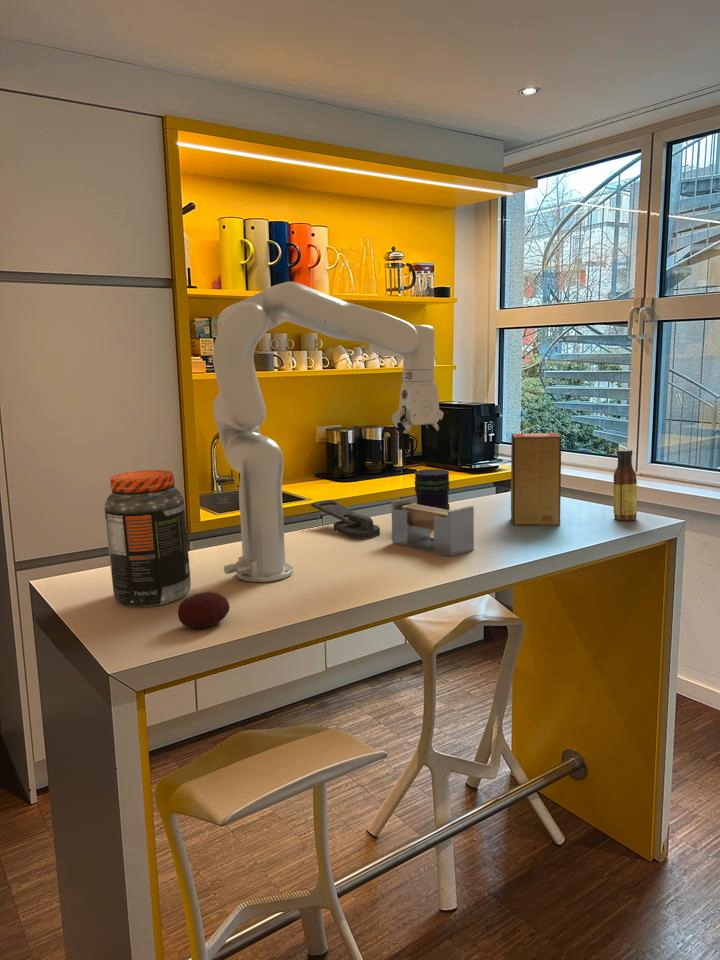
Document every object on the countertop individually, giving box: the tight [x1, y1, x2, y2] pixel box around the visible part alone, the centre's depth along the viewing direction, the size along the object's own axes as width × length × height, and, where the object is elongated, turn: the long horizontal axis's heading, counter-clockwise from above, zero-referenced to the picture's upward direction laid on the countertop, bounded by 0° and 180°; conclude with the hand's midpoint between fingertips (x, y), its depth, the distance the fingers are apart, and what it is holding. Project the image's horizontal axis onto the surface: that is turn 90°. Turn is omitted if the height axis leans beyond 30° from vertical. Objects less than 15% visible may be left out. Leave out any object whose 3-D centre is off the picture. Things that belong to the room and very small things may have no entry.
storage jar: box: [414, 468, 451, 510], centre depth 210 cm, size 10×10×15 cm
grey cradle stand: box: [390, 495, 475, 558], centre depth 186 cm, size 8×20×11 cm, turn 42°
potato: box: [177, 591, 231, 629], centre depth 136 cm, size 7×10×6 cm
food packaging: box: [510, 432, 562, 527], centre depth 207 cm, size 13×9×25 cm
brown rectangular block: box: [402, 503, 452, 531], centre depth 185 cm, size 5×16×5 cm, turn 42°
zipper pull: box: [310, 499, 381, 540], centre depth 206 cm, size 9×7×25 cm
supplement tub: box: [104, 469, 192, 607], centre depth 152 cm, size 16×16×26 cm
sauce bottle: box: [612, 448, 638, 522], centre depth 208 cm, size 6×6×20 cm
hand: (418, 448), depth 180 cm, fingers open, 9 cm apart
